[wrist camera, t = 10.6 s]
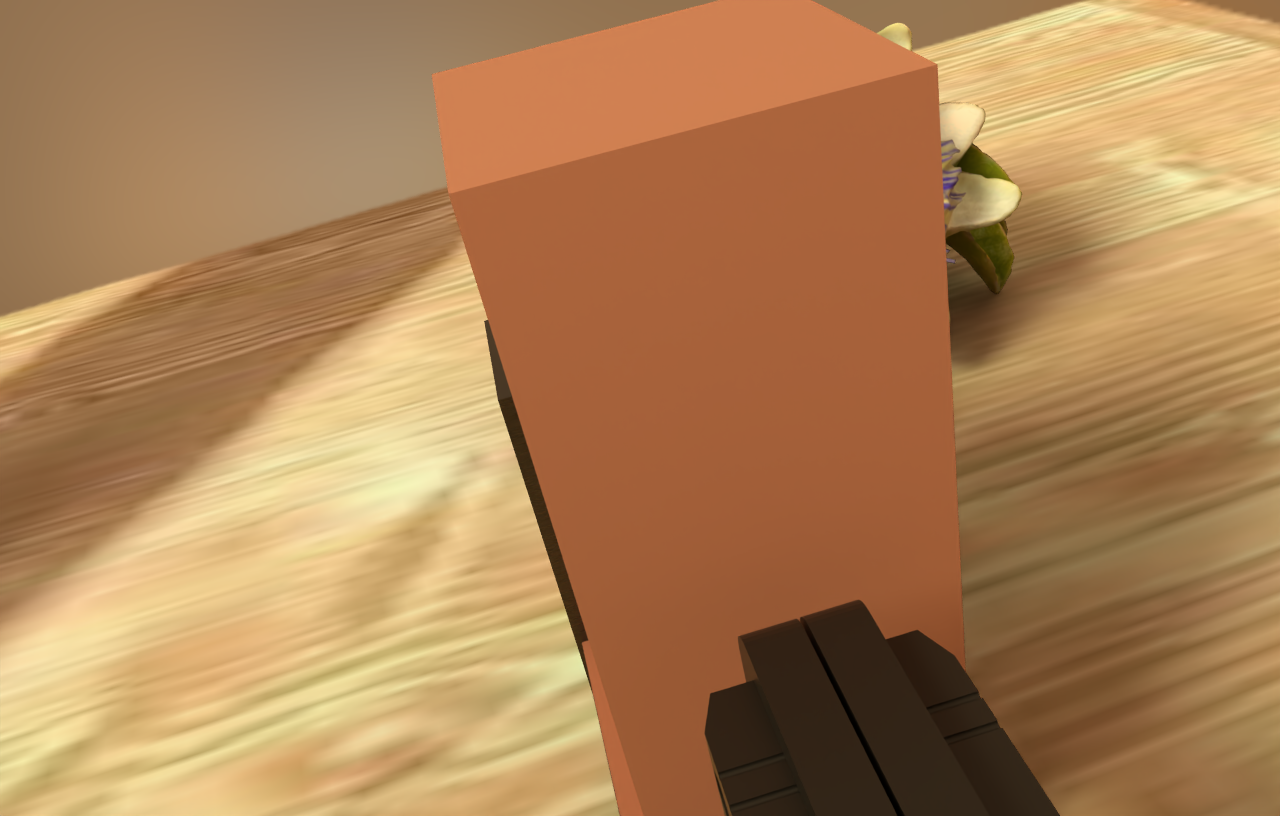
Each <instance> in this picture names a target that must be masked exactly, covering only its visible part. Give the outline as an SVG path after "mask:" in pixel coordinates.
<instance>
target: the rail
mask: <svg viewBox="0 0 1280 816" xmlns="http://www.w3.org/2000/svg"><path fill="white" fill-rule="evenodd" d="M484 322H485V328H486V333H487V339H488V345H489V351H490V356H491V362H492V368H493V374H494V379H495V385H496V391H497V397H498V401H499V404H500V408H501V411H502V414H503V417H504V420H505V423H506V426H507V429H508V432H509V435H510V439H511V442H512V445H513V448H514V451H515V454H516V457H517V460H518V463H519V466H520V470H521V473H522V476H523V479H524V482H525V485H526V488H527V491H528V494H529V497H530V501H531V504H532V507H533V510H534V513H535V516H536V519H537V522H538V525H539V528H540V532H541V535H542V538H543V541H544V544H545V547H546V550H547V553H548V556H549V560H550V563H551V566H552V569H553V572H554V575H555V578H556V581H557V584H558V587H559V591H560V594H561V597H562V600H563V603H564V606H565V609H566V612H567V615H568V618H569V622H570V625H571V628H572V631H573V634H574V637H575V640H576V643H577V646H578V649H579V653H580V656H581V659H582V662H583V665H584V668H585V671H586V674H587V677H588V680H589V684H590V687H591V690H592V686H591V682H590V677H589V673H588V668H587V664H586V659H585V655H584V650H583V646H582V642H585V641H588V637H587V634H586V631H585V628H584V624H583V621H582V618H581V615H580V612H579V608H578V605H577V602H576V599H575V596H574V592H573V589H572V586H571V583H570V580H569V576H568V573H567V570H566V567H565V564H564V560H563V557H562V554H561V551H560V548H559V545H558V541H557V538H556V535H555V532H554V529H553V525H552V522H551V519H550V516H549V513H548V509H547V506H546V503H545V500H544V497H543V493H542V490H541V487H540V484H539V481H538V477H537V474H536V471H535V468H534V465H533V462H532V458H531V455H530V452H529V449H528V446H527V442H526V439H525V436H524V433H523V430H522V426H521V423H520V420H519V417H518V414H517V410H516V407H515V404H514V401H513V398H512V394H511V391H510V388H509V385H508V382H507V379H506V375H505V372H504V369H503V366H502V363H501V359H500V356H499V353H498V350H497V347H496V343H495V340H494V337H493V334H492V331H491V327H490V324H489V321H488V320H486V321H484ZM592 693H593V691H592ZM593 697H594V695H593ZM594 701H595V700H594ZM595 706H596V704H595ZM596 710H597V709H596ZM597 715H598V713H597ZM598 719H599V718H598ZM599 724H600V722H599ZM600 728H601V727H600ZM601 733H602V731H601ZM602 737H603V736H602ZM603 742H604V740H603ZM604 746H605V745H604ZM605 751H606V749H605ZM606 755H607V753H606ZM607 760H608V758H607ZM608 764H609V762H608ZM609 769H610V767H609ZM610 773H611V771H610ZM611 778H612V776H611ZM612 782H613V780H612ZM613 787H614V785H613ZM614 791H615V789H614ZM615 796H616V794H615ZM616 800H617V798H616ZM617 805H618V803H617ZM618 809H619V807H618ZM619 814H620V812H619Z"/></svg>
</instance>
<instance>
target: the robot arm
mask: <svg viewBox="0 0 1280 816" xmlns="http://www.w3.org/2000/svg"><path fill="white" fill-rule="evenodd" d="M738 645H739V650H740V655H741V660H742V664H743V669H744V674H745V679H746V683H743V684H739V685H736V686H733V687H730V688H726V689H723V690H720V691H716V692H713V693H710V698H709V705H708V712H707V719H706V725H705V732H704V734H705V738H706V742H707V746H708V750H709V754H710V758H711V762H712V766H713V770H714V774H715V778H716V783H717V787H718V791H719V795H720V799H721V803H722V807H723V811H724V815H725V816H1060V815H1059V813H1058V812H1057V810H1056V809H1055V807H1054V806H1053V804H1052V803H1051V801H1050V800H1049V798H1048V797H1047V795H1046V794H1045V792H1044V791H1043V789H1042V788H1041V786H1040V784H1039V783H1038V781H1037V780H1036V778H1035V777H1034V775H1033V774H1032V772H1031V771H1030V769H1029V768H1028V766H1027V765H1026V763H1025V762H1024V760H1023V759H1022V757H1021V756H1020V754H1019V753H1018V751H1017V750H1016V748H1015V746H1014V745H1013V743H1012V742H1011V740H1010V739H1009V737H1008V736H1007V734H1006V733H1005V731H1004V730H1003V728H1000V727H999V725H998V722H997V719H996V718H995V716H994V715H993V713H992V711H991V710H990V708H989V707H988V705H987V704H986V702H985V701H984V699H983V698H982V699H981V698H980V696H979V693H978V690H977V689H976V687H975V686H974V684H973V683H972V681H971V680H970V678H969V676H968V675H967V673H966V672H965V670H964V669H963V667H962V666H961V664H960V663H959V661H958V660H957V658H956V657H955V655H953V654H952V653H950V652H949V651H948V650H946V649H945V648H943V647H942V646H940V645H939V644H937V643H936V642H935V641H933V640H932V639H930V638H929V637H927V636H926V635H924V634H923V633H922V632H920V631H919V630H915V631H911V632H908V633H905V634H901V635H898V636H895V637H892V638H888V639H885V637H884V636H883V634H882V632H881V631H880V629H879V627H878V625H877V624H876V622H875V620H874V619H873V617H872V615H871V614H870V612H869V610H868V609H867V607H866V606H865V604H864V603H863V602H862V601H861V600H859V599H858V600H855V601H852V602H848V603H845V604H842V605H838V606H835V607H832V608H829V609H825V610H822V611H819V612H815V613H812V614H809V615H805V616H802V617H800V621H799V620H798V619H793V620H790V621H787V622H783V623H780V624H777V625H773V626H770V627H767V628H764V629H760V630H757V631H754V632H750V633H747V634H744V635H740V636H738Z"/></svg>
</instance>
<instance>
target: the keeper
mask: <svg viewBox="0 0 1280 816" xmlns="http://www.w3.org/2000/svg"><path fill="white" fill-rule="evenodd" d="M432 79H433V86H434V93H435V100H436V107H437V115H438V122H439V129H440V135H441V143H442V149H443V157H444V164H445V171H446V178H447V186H448V193H449V197H450V200H451V203H452V206H453V209H454V212H455V216H456V219H457V222H458V225H459V228H460V232H461V235H462V238H463V241H464V244H465V248H466V251H467V254H468V257H469V260H470V264H471V267H472V270H473V273H474V276H475V280H476V283H477V286H478V289H479V292H480V296H481V299H482V302H483V305H484V308H485V311H486V315H487V318H488V321H489V324H490V327H491V331H492V334H493V337H494V340H495V343H496V347H497V350H498V353H499V356H500V359H501V363H502V366H503V369H504V372H505V375H506V379H507V382H508V385H509V388H510V391H511V394H512V398H513V401H514V404H515V407H516V410H517V414H518V417H519V420H520V423H521V426H522V430H523V433H524V436H525V439H526V442H527V446H528V449H529V452H530V455H531V458H532V462H533V465H534V468H535V471H536V474H537V477H538V481H539V484H540V487H541V490H542V493H543V497H544V500H545V503H546V506H547V509H548V513H549V516H550V519H551V522H552V525H553V529H554V532H555V535H556V538H557V541H558V545H559V548H560V551H561V554H562V557H563V560H564V564H565V567H566V570H567V573H568V576H569V580H570V583H571V586H572V589H573V592H574V596H575V599H576V602H577V605H578V608H579V612H580V615H581V618H582V621H583V624H584V628H585V631H586V634H587V637H588V641H585V642H582V646H583V650H584V655H585V659H586V664H587V668H588V673H589V677H590V682H591V686H592V691H593V695H594V700H595V704H596V709H597V713H598V718H599V722H600V727H601V731H602V736H603V740H604V745H605V749H606V753H607V758H608V762H609V767H610V771H611V776H612V780H613V785H614V789H615V794H616V798H617V803H618V807H619V812H620V816H725V815H724V811H723V807H722V803H721V799H720V795H719V791H718V787H717V783H716V778H715V774H714V770H713V766H712V762H711V758H710V754H709V750H708V746H707V742H706V738H705V734H704V732H705V725H706V719H707V712H708V705H709V698H710V693H713V692H716V691H720V690H723V689H726V688H730V687H733V686H736V685H739V684H743V683H746V679H745V674H744V669H743V664H742V660H741V655H740V650H739V645H738V636H740V635H744V634H747V633H750V632H754V631H757V630H760V629H764V628H767V627H770V626H773V625H777V624H780V623H783V622H787V621H790V620H793V619H798V620H799V621H800V617H802V616H805V615H809V614H812V613H815V612H819V611H822V610H825V609H829V608H832V607H835V606H838V605H842V604H845V603H848V602H852V601H855V600H858V599H859V600H861V601H862V602H863V603H864V604H865V606H866V607H867V609H868V610H869V612H870V614H871V615H872V617H873V619H874V620H875V622H876V624H877V625H878V627H879V629H880V631H881V632H882V634H883V636H884V637H885V639H888V638H892V637H895V636H898V635H901V634H905V633H908V632H911V631H915V630H919V631H920V632H922V633H923V634H924V635H926V636H927V637H929V638H930V639H932V640H933V641H935V642H936V643H937V644H939V645H940V646H942V647H943V648H945V649H946V650H948V651H949V652H950V653H952V654H953V655H955V657H956V658H957V660H958V661H959V663H960V664H961V666H962V667H963V669H964V670H965V650H964V628H963V607H962V585H961V564H960V542H959V521H958V499H957V477H956V456H955V434H954V413H953V391H952V370H951V348H950V327H949V305H948V283H947V262H946V240H945V219H944V197H943V176H942V154H941V133H940V111H939V89H938V68H937V64H935V63H933V62H931V61H930V60H928V59H926V58H924V57H922V56H920V55H918V54H916V53H914V52H912V51H910V50H908V49H906V48H904V47H902V46H900V45H898V44H896V43H894V42H892V41H890V40H888V39H886V38H884V37H883V36H881V35H879V34H877V33H875V32H873V31H871V30H868V29H867V28H865V27H863V26H861V25H859V24H857V23H855V22H853V21H851V20H849V19H847V18H845V17H843V16H841V15H839V14H837V13H835V12H834V11H831V10H830V9H828V8H826V7H824V6H822V5H820V4H818V3H816V2H814V1H812V0H719V1H715V2H711V3H707V4H703V5H699V6H696V7H692V8H688V9H684V10H680V11H676V12H672V13H668V14H664V15H661V16H657V17H653V18H649V19H645V20H641V21H637V22H633V23H630V24H626V25H622V26H618V27H614V28H610V29H606V30H602V31H598V32H594V33H590V34H587V35H583V36H579V37H575V38H571V39H567V40H563V41H559V42H556V43H552V44H548V45H544V46H540V47H536V48H532V49H528V50H525V51H520V52H516V53H513V54H509V55H505V56H501V57H497V58H493V59H489V60H485V61H481V62H477V63H473V64H470V65H466V66H462V67H458V68H454V69H450V70H446V71H443V72H438V73H435V74H432ZM965 672H966V671H965Z"/></svg>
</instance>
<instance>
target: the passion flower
mask: <svg viewBox="0 0 1280 816" xmlns="http://www.w3.org/2000/svg"><path fill="white" fill-rule="evenodd" d="M877 34H879V35H881V36H883V37H884V38H886V39H888V40H890V41H892V42H894V43H896V44H898V45H900V46H902V47H904V48H906V49H908V50H910V51H912V33H911V31H910V30H909V28H908V27H907V26H906V25H904V24H901V23H896V24H892V25H890V26H888V27H886V28H885V29H883V30H882V31H880V32H878V33H877ZM939 111H940V133H941V154H942V176H943V197H944V219H945V240H946V244H947V245H949V246H950V247H952V248H953V249H954V250H955V251H957V252H958V253H959V254H960V255H961V256H962V257H963V258H965V259H966V261H967V262H968V263H969V264H970V265H971V266H972V268H973V269H974V270H975V271H976V272H977V274H978V275H979V276H980V277H981V278H982V279H983V280H984V282H985V283H986V285H987V286H988V288H989V289H990V290H991V291H992V292H994V293H996V294H998V293H999V292H1000V290H1001V289H1002V287H1003V286H1004V284H1005V282H1006V281H1007V279H1008V277H1009V275H1010V274H1011V266H1012V263H1013V260H1014V255H1013V252H1012V249H1011V248H1010V246H1009V243H1008V240H1007V230H1008V229H1007V226H1006V221H1005V219H1006V218H1008V217H1009V216H1010V215H1011V214H1012V213H1013V212H1014V211H1015V210H1016V208H1017V207H1018V205H1019V202H1020V200H1021V196H1022V192H1021V191H1020V189H1019V187H1018V186H1017V185H1015V184H1014V183H1013V182H1012V181H1011V180H1010V179H1009V177H1008V175H1007V174H1006V172H1005V171H1004V170H1003V169H1002V168H1001V167H1000V166H999V165H998V164H997V163H996V162H995V161H994V160H993V159H992V158H991V157H990V156H988V155H987V154H985V153H983V152H982V151H981V150H980V149H979V148H978V147H977V146H975V145H974V144H973V143H972V142H973V140H974V139H975V138H976V137H977V136H978V134H979V132H980V130H981V128H982V126H983V124H984V122H985V111H984V109H982V108H980V107H979V106H978V105H974V104H971V103H968V102H966V103H942V104H939ZM949 251H950V250H948V249H946V253H949ZM955 261H956V260H954V259H948V258H946V262H950V263H955ZM949 327H950V311H949Z"/></svg>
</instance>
